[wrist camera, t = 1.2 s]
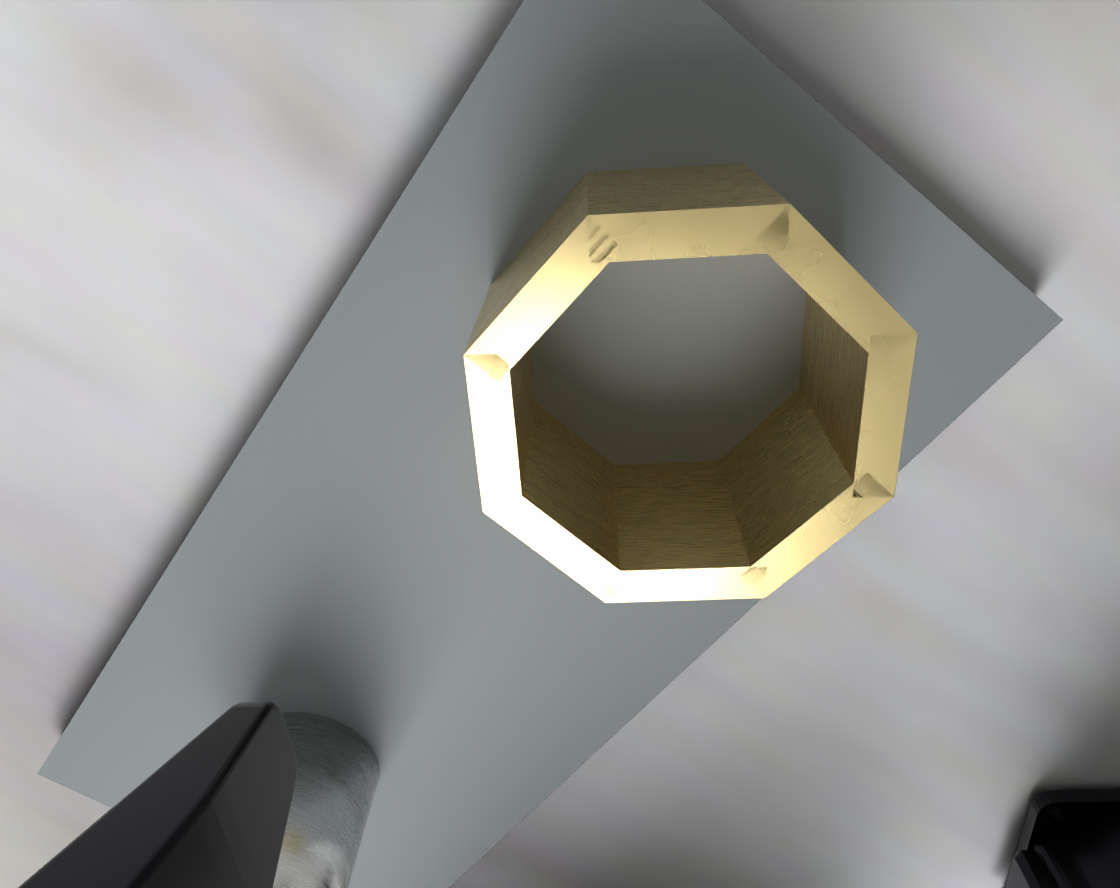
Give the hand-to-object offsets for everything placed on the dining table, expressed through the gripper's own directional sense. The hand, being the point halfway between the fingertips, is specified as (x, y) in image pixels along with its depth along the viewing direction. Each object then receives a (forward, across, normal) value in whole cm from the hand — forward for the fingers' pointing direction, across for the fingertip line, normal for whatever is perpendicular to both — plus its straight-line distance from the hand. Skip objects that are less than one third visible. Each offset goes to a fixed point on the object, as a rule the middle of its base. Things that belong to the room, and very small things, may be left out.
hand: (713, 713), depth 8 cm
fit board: (+11, +5, +6) cm, 13 cm away
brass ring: (+10, 0, 0) cm, 10 cm away
